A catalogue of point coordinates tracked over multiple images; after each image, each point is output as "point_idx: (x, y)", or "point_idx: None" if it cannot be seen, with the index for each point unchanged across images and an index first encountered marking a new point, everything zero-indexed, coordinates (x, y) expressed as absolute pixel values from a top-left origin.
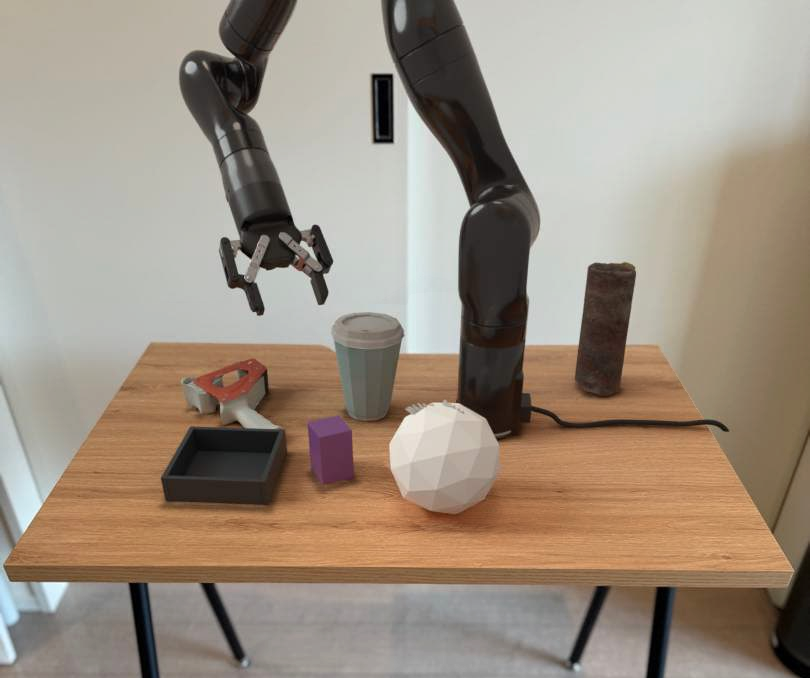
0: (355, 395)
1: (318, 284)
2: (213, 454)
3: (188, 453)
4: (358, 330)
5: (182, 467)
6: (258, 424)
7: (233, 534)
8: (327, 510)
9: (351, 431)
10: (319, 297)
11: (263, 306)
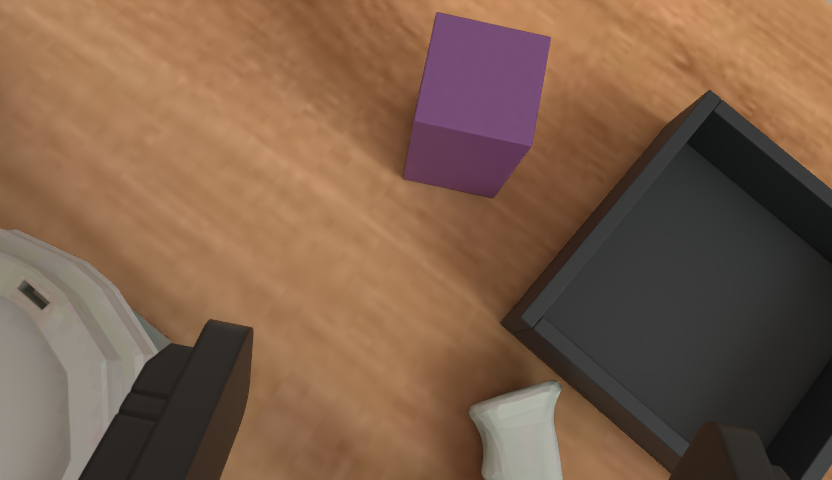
0: None
1: (203, 405)
2: None
3: (797, 440)
4: (62, 321)
5: (830, 385)
6: (542, 461)
7: (780, 90)
8: (548, 33)
9: (438, 13)
10: (240, 375)
11: (723, 428)
